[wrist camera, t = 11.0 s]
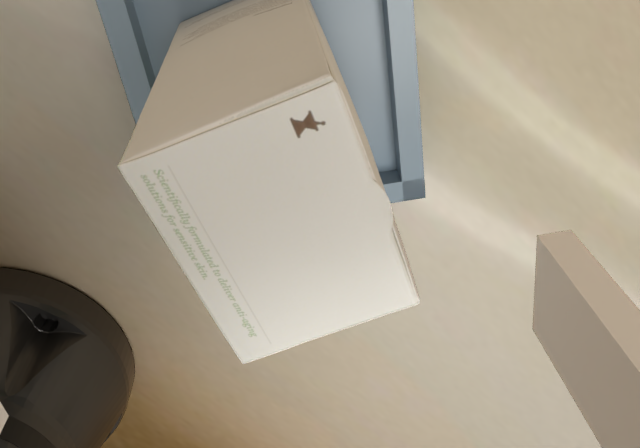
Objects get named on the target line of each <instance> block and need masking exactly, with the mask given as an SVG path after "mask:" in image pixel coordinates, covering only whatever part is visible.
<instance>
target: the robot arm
mask: <svg viewBox="0 0 640 448" xmlns="http://www.w3.org/2000/svg"><path fill="white" fill-rule="evenodd" d="M532 329H533V331H534V332H535V334H536V336H537V338H538V339H539V341H540V343H541V344H542V346H543V348H544V350H545V351H546V353H547V355H548V356H549V358H550V360H551V361H552V363H553V365H554V367H555V368H556V370H557V372H558V373H559V375H560V377H561V379H562V380H563V382H564V384H565V385H566V387H567V389H568V391H569V392H570V394H571V396H572V397H573V399H574V401H575V402H576V404H577V406H578V408H579V409H580V411H581V413H582V414H583V416H584V418H585V420H586V421H587V423H588V425H589V426H590V428H591V430H592V431H593V433H594V435H595V437H596V438H597V440H598V442H599V443H600V445H601V447H602V448H640V310H639V309H638V308H637V306H636V305H635V304H634V303H633V302H632V301H631V299H630V298H629V297H628V296H627V295H626V294H625V292H624V291H623V290H622V289H621V288H620V287H619V285H618V284H617V283H616V282H615V281H614V280H613V278H612V277H611V276H610V275H609V274H608V272H607V271H606V270H605V269H604V268H603V267H602V265H601V264H600V263H599V262H598V261H597V260H596V258H595V257H594V256H593V255H592V254H591V253H590V251H589V250H588V249H587V248H586V247H585V246H584V244H583V243H582V242H581V241H580V240H579V239H578V237H577V236H576V235H575V234H574V233H573V231H572V230H567V231H561V232H555V233H549V234H543V235H537V248H536V268H535V288H534V308H533V328H532ZM134 374H135V366H134V358H133V354H132V351H131V348H130V345H129V343H128V341H127V338H126V337H125V335H124V333H123V332H122V330H121V329H120V327H119V326H118V325H117V323H116V322H115V321H114V320H113V318H112V317H111V316H110V315H109V314H108V313H107V312H106V311H105V310H104V309H102V308H101V307H100V306H99V305H98V304H96V303H95V302H94V301H93V300H91V299H90V298H88V297H87V296H85V295H84V294H82V293H81V292H79V291H77V290H75V289H73V288H72V287H70V286H67V285H65V284H63V283H61V282H59V281H56V280H54V279H51V278H48V277H45V276H42V275H39V274H35V273H31V272H27V271H22V270H16V269H8V268H0V448H100V447H101V446H102V444H103V443H104V442H105V441H106V440H107V439H108V438H109V436H110V435H111V434H112V433H113V432H114V430H115V429H116V428H117V426H118V425H119V423H120V421H121V419H122V417H123V415H124V413H125V411H126V408H127V404H128V400H129V397H130V393H131V389H132V386H133V382H134Z"/></svg>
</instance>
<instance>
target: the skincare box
mask: <svg viewBox="0 0 640 448" xmlns="http://www.w3.org/2000/svg"><path fill="white" fill-rule="evenodd" d="M117 167H118V169H119V171H120V172H121V174H122V175H123V177H124V179H125V180H126V182H127V183H128V185H129V186H130V188H131V189H132V191H133V192H134V194H135V196H136V197H137V199H138V200H139V202H140V203H141V205H142V207H143V208H144V210H145V211H146V213H147V215H148V216H149V218H150V219H151V221H152V223H153V224H154V226H155V227H156V229H157V231H158V232H159V234H160V235H161V237H162V239H163V240H164V242H165V243H166V245H167V247H168V248H169V250H170V251H171V253H172V255H173V256H174V258H175V259H176V261H177V263H178V264H179V266H180V267H181V269H182V270H183V272H184V274H185V275H186V277H187V278H188V280H189V282H190V283H191V285H192V286H193V288H194V290H195V291H196V293H197V295H198V296H199V298H200V299H201V301H202V303H203V304H204V306H205V307H206V309H207V310H208V312H209V314H210V315H211V317H212V318H213V320H214V321H215V323H216V324H217V326H218V328H219V329H220V331H221V332H222V334H223V335H224V337H225V338H226V340H227V341H228V343H229V344H230V346H231V347H232V349H233V351H234V352H235V354H236V355H237V357H238V358H239V360H240V361H241V362H242V363H243V364H246V363H248V362H251V361H254V360H257V359H260V358H263V357H266V356H269V355H272V354H275V353H278V352H281V351H284V350H286V349H289V348H292V347H295V346H297V345H300V344H303V343H305V342H308V341H311V340H314V339H317V338H320V337H323V336H326V335H329V334H332V333H335V332H338V331H341V330H344V329H347V328H350V327H353V326H356V325H359V324H362V323H365V322H367V321H370V320H373V319H376V318H379V317H382V316H385V315H388V314H391V313H394V312H397V311H400V310H403V309H406V308H409V307H413V306H416V305H418V304H419V303H420V298H419V294H418V291H417V287H416V284H415V280H414V277H413V274H412V271H411V267H410V264H409V261H408V258H407V255H406V252H405V249H404V246H403V243H402V240H401V237H400V234H399V231H398V228H397V225H396V222H395V219H394V216H393V210H392V206H391V203H390V200H389V198H388V196H387V194H386V192H385V189H384V186H383V183H382V180H381V177H380V174H379V172H378V169H377V166H376V163H375V160H374V157H373V154H372V151H371V148H370V145H369V143H368V140H367V137H366V135H365V132H364V130H363V127H362V125H361V122H360V120H359V117H358V115H357V112H356V110H355V107H354V105H353V102H352V100H351V97H350V95H349V92H348V90H347V87H346V85H345V83H344V80H343V78H342V75H341V73H340V70H339V68H338V66H337V63H336V61H335V58H334V56H333V53H332V51H331V49H330V46H329V44H328V42H327V39H326V37H325V35H324V32H323V30H322V28H321V26H320V23H319V21H318V18H317V16H316V13H315V11H314V9H313V6H312V4H311V2H310V0H232V1H230V2H228V3H225V4H223V5H220V6H218V7H216V8H213V9H211V10H208V11H206V12H204V13H202V14H199V15H197V16H195V17H192V18H190V19H188V20H185V21H183V22H181V23H180V24H179V26H178V28H177V31H176V33H175V35H174V38H173V40H172V42H171V45H170V47H169V50H168V52H167V54H166V57H165V59H164V61H163V63H162V66H161V68H160V71H159V73H158V75H157V78H156V80H155V82H154V85H153V87H152V89H151V91H150V94H149V96H148V99H147V101H146V103H145V105H144V108H143V110H142V112H141V114H140V117H139V119H138V122H137V124H136V126H135V128H134V131H133V134H132V137H131V139H130V141H129V143H128V144H127V148H126V150H125V152H124V154H123V157H122V159H121V161H120V163H119V165H118V166H117Z"/></svg>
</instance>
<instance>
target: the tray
mask: <svg viewBox="0 0 640 448" xmlns="http://www.w3.org/2000/svg"><path fill="white" fill-rule="evenodd" d="M230 1H232V0H96V3H97V6H98V9H99V12H100V15H101V18H102V21H103V24H104V27H105V30H106V33H107V37H108V40H109V43H110V46H111V49H112V52H113V55H114V58H115V61H116V64H117V68H118V71H119V74H120V77H121V80H122V83H123V86H124V89H125V92H126V95H127V98H128V102H129V105H130V108H131V111H132V114H133V117H134V120H135V123H136V124H137V122H138V119H139V117H140V114H141V112H142V110H143V108H144V105H145V103H146V101H147V99H148V96H149V94H150V91H151V89H152V87H153V85H154V82H155V80H156V78H157V75H158V73H159V71H160V68H161V66H162V63H163V61H164V59H165V57H166V54H167V52H168V50H169V47H170V45H171V42H172V40H173V38H174V35H175V33H176V31H177V28H178V26H179V24H180V23H181V22H183V21H185V20H188V19H190V18H192V17H195V16H197V15H199V14H202V13H204V12H206V11H208V10H211V9H213V8H216V7H218V6H220V5H223V4H225V3H228V2H230ZM310 2H311V4H312V6H313V9H314V11H315V13H316V16H317V18H318V21H319V23H320V26H321V28H322V30H323V32H324V35H325V37H326V39H327V42H328V44H329V46H330V49H331V51H332V53H333V56H334V58H335V61H336V63H337V66H338V68H339V70H340V73H341V75H342V78H343V80H344V83H345V85H346V87H347V90H348V92H349V95H350V97H351V100H352V102H353V105H354V107H355V110H356V112H357V115H358V117H359V120H360V122H361V125H362V127H363V130H364V132H365V135H366V137H367V140H368V143H369V145H370V148H371V151H372V154H373V157H374V160H375V163H376V166H377V169H378V172H379V174H380V177H381V180H382V183H383V186H384V189H385V192H386V194H387V196H388V198H389V200H390V203H395V202H401V201H407V200H413V199H420V198H425V183H424V167H423V151H422V134H421V118H420V101H419V85H418V69H417V52H416V36H415V20H414V3H413V0H310Z"/></svg>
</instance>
